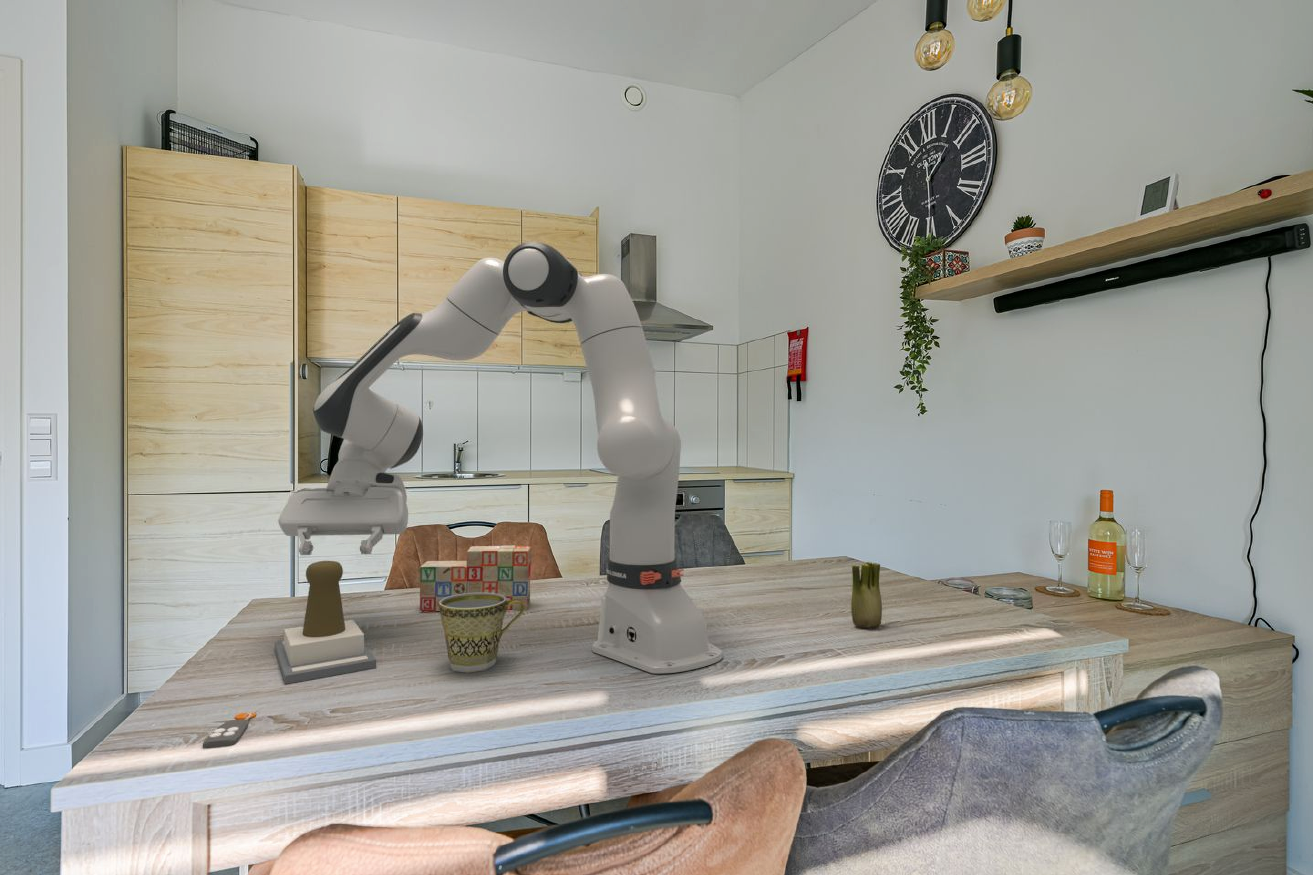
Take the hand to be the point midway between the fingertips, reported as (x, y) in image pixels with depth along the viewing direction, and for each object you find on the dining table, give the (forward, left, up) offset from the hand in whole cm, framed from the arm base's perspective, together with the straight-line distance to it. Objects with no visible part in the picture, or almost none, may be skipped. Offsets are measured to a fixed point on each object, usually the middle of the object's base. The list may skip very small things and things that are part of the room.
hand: (334, 552), depth 108 cm
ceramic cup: (-20, -18, -16) cm, 31 cm away
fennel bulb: (-40, -84, -16) cm, 94 cm away
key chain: (-24, +14, -17) cm, 32 cm away
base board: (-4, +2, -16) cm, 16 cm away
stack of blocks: (+13, -28, -16) cm, 35 cm away
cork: (-4, +2, -12) cm, 13 cm away
